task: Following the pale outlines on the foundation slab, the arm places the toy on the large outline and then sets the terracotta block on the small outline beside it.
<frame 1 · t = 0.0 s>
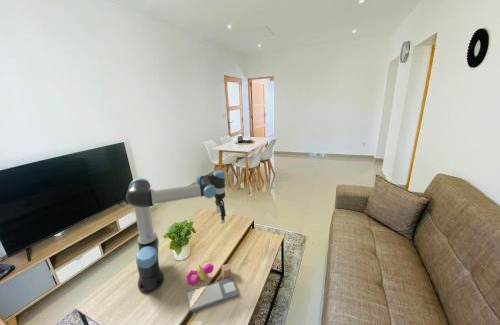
hand: (220, 217, 155), 28 cm above the table, fingers open, 13 cm apart
toy: (201, 278, 139), on the table
foundation slab: (213, 294, 128), on the table
terracotta block: (226, 275, 141), on the table
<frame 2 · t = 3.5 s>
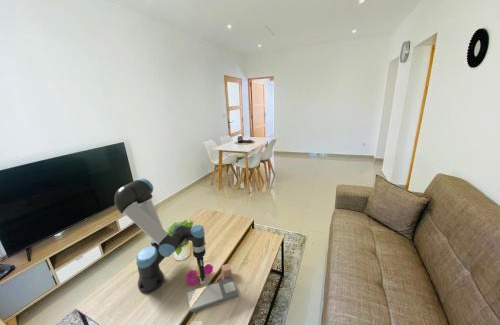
hand: (201, 275, 138), 2 cm above the table, fingers closed on toy, 11 cm apart
toy: (200, 278, 138), on the table, touching gripper
everything else where it was.
when the fingers open (4 cm above the table, at t = 8.7 s): toy stays where it is, resting on foundation slab.
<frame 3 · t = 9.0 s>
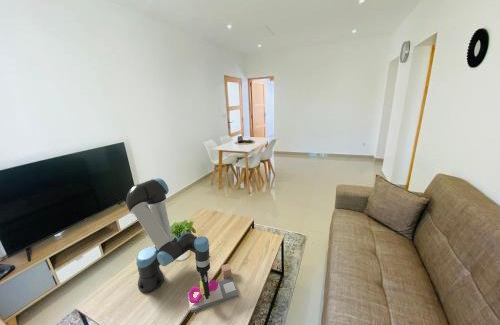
hand: (204, 291, 125), 5 cm above the table, fingers open, 13 cm apart
toy: (204, 295, 125), point 1 cm above the table, touching foundation slab
everything else where it was.
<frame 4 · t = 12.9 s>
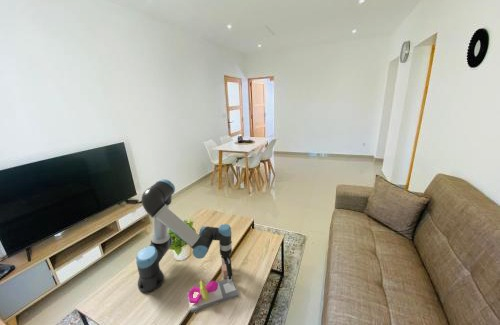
hand: (226, 273, 141), 1 cm above the table, fingers open, 13 cm apart
nothing on the table moved.
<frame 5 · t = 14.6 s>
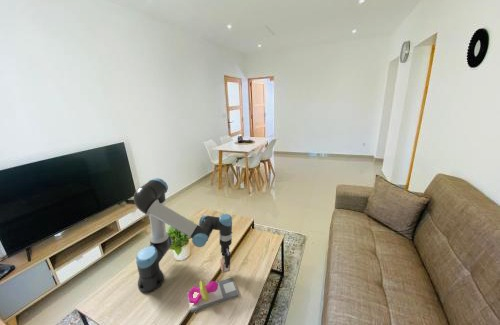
hand: (225, 267, 139), 7 cm above the table, fingers closed on terracotta block, 5 cm apart
terracotta block: (225, 269, 139), point 5 cm above the table, touching gripper
everything else where it was.
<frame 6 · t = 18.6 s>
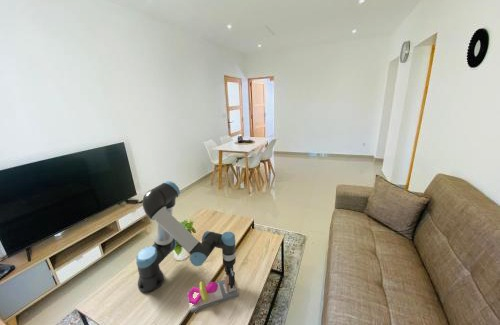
hand: (229, 286, 131), 2 cm above the table, fingers closed on terracotta block, 5 cm apart
terracotta block: (229, 287, 131), point 2 cm above the table, touching foundation slab, gripper
everything else where it was.
when the fingers open (2 cm above the table, at t = 18.7 s): terracotta block stays where it is, resting on foundation slab.
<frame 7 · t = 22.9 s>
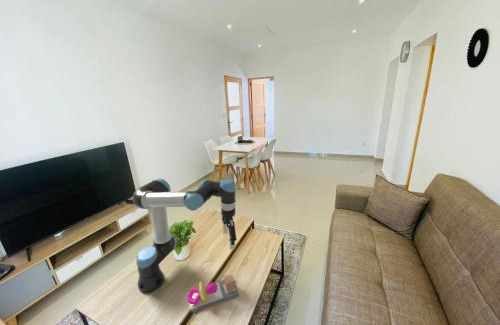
hand: (228, 240, 119), 37 cm above the table, fingers open, 13 cm apart
terracotta block: (229, 287, 131), point 2 cm above the table, touching foundation slab
at the end: toy inside the target area (1.7 cm from its centre), point 1.4 cm above the table; terracotta block inside the target area (0.1 cm from its centre), point 1.6 cm above the table; terracotta block tilted 0° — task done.
